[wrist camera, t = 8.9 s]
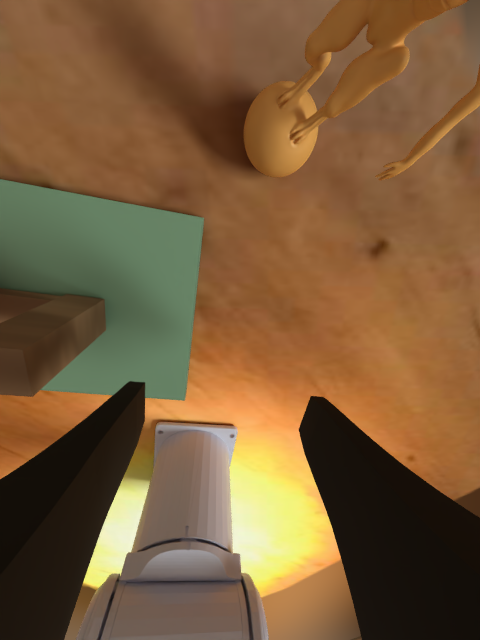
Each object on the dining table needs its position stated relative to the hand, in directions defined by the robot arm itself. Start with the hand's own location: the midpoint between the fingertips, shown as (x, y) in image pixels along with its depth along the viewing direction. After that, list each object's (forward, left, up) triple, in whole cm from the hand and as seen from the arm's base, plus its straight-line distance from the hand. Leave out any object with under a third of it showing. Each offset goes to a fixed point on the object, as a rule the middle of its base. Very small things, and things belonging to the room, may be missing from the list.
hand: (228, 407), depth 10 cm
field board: (0, +13, -9) cm, 16 cm away
